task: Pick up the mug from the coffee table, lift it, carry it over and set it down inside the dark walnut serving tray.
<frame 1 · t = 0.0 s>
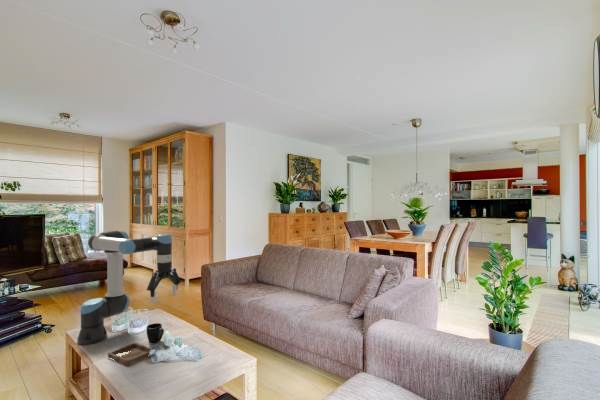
hand: (164, 299, 178), 28 cm above the table, fingers open, 13 cm apart
mug: (156, 342, 185), on the table
tray: (131, 356, 169), on the table
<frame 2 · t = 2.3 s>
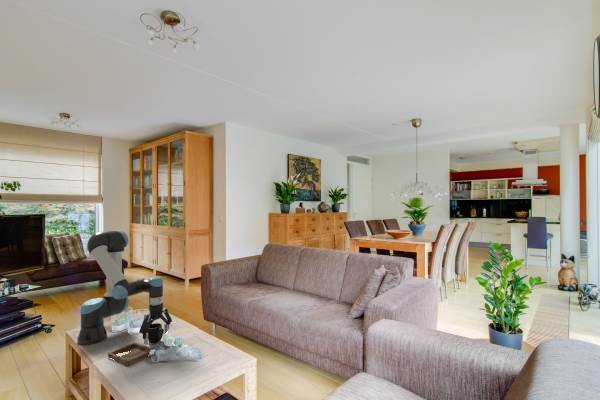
hand: (156, 339, 185), 2 cm above the table, fingers open, 13 cm apart
nothing on the table moved.
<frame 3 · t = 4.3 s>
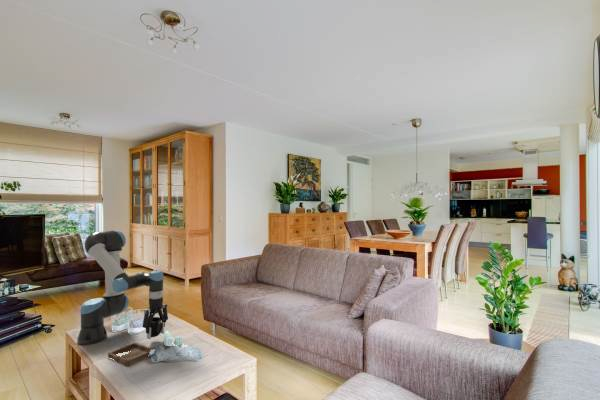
hand: (155, 335, 186), 4 cm above the table, fingers closed on mug, 8 cm apart
mug: (155, 336, 186), point 3 cm above the table, touching gripper
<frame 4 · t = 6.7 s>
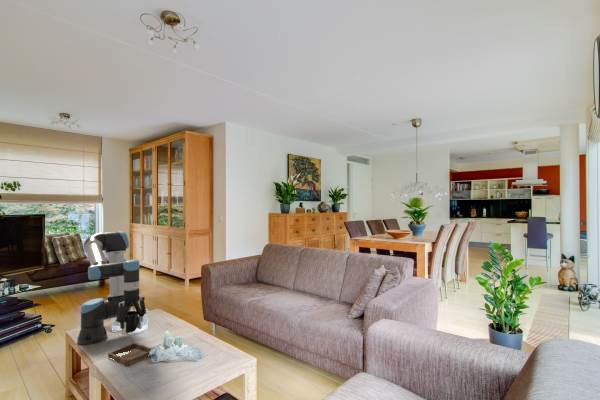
hand: (131, 331, 169), 13 cm above the table, fingers closed on mug, 8 cm apart
mug: (131, 332, 169), point 13 cm above the table, touching gripper
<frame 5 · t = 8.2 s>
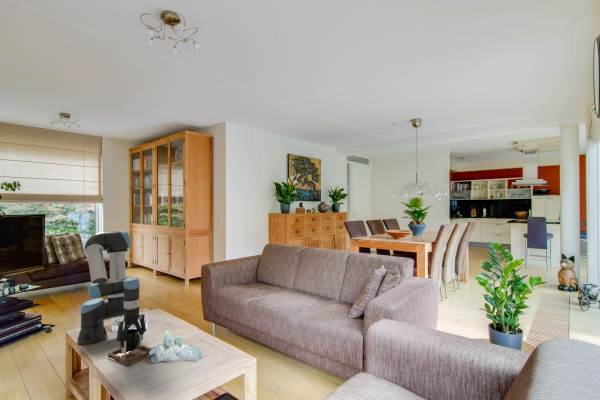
hand: (131, 349, 169), 4 cm above the table, fingers closed on mug, 8 cm apart
mug: (131, 350, 169), point 3 cm above the table, touching gripper
when the fingers open (2 cm above the table, at t = 9.4 s): mug drops 1 cm, resting on tray.
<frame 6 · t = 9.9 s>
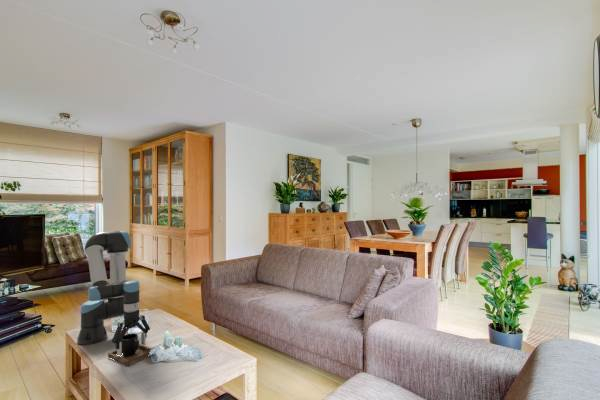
hand: (131, 349, 169), 4 cm above the table, fingers open, 13 cm apart
mug: (131, 355, 169), resting on tray
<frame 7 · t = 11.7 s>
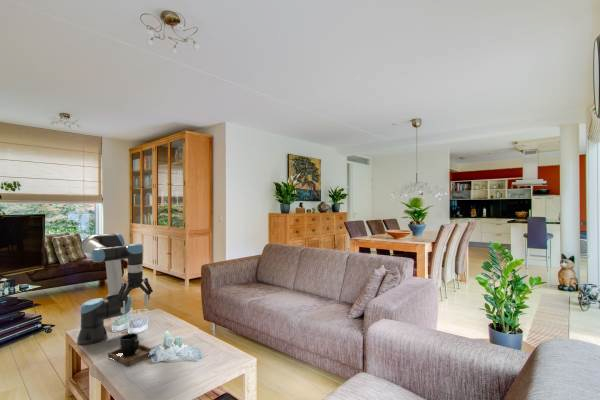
hand: (134, 309, 176), 23 cm above the table, fingers open, 13 cm apart
nothing on the table moved.
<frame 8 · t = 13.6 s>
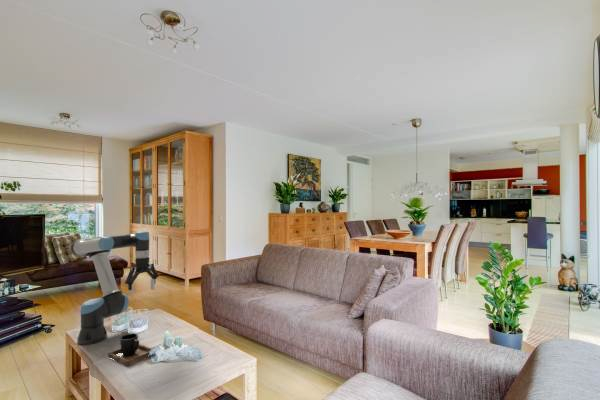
hand: (142, 292, 189), 29 cm above the table, fingers open, 13 cm apart
nothing on the table moved.
at the end: mug inside the target area on the tray (0.3 cm from its centre), point 0.4 cm above the tray's base; mug tilted 0°; the gripper is holding nothing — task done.
